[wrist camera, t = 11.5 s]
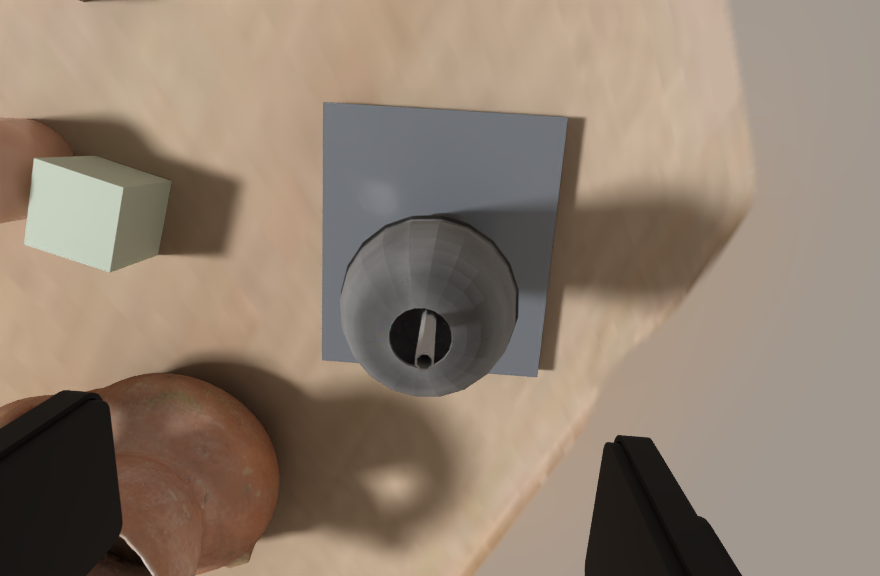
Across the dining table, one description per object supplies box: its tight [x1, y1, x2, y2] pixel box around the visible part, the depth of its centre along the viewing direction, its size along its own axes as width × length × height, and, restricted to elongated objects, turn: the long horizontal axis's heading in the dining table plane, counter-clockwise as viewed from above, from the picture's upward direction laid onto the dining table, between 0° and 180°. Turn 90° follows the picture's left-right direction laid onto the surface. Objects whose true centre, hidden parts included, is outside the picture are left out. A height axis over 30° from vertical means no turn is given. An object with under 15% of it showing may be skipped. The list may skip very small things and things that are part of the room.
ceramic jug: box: [0, 373, 279, 576], centre depth 32 cm, size 18×14×14 cm
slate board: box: [322, 102, 568, 377], centre depth 34 cm, size 16×14×1 cm
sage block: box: [24, 156, 172, 272], centre depth 32 cm, size 5×5×5 cm
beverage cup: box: [340, 213, 519, 397], centre depth 23 cm, size 7×7×20 cm
